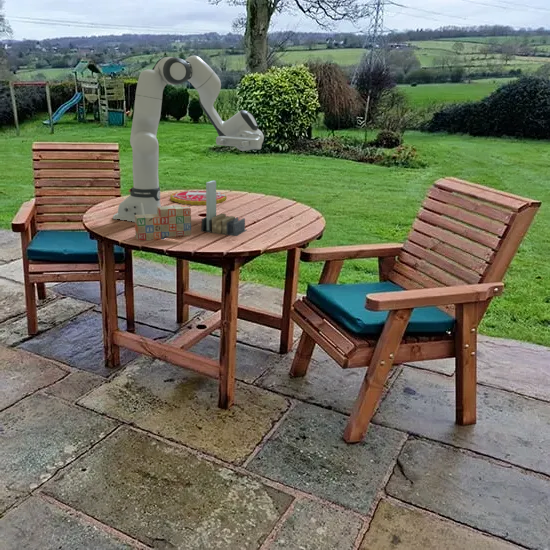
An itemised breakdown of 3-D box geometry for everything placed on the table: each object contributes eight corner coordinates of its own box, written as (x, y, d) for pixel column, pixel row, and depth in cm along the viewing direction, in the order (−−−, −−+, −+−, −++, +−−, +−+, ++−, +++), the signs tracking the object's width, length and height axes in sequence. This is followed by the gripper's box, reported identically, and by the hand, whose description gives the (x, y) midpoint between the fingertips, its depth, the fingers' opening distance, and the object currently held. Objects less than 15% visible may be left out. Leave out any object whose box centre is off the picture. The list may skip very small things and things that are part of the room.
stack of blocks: (138, 241, 207) (136, 210, 203) (135, 237, 212) (133, 207, 208) (191, 237, 215) (191, 207, 211) (187, 233, 220) (187, 204, 216)
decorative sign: (221, 189, 301) (231, 200, 274) (221, 193, 302) (231, 205, 275) (167, 190, 294) (172, 201, 267) (167, 194, 294) (173, 206, 267)
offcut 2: (216, 232, 218) (216, 221, 216) (226, 227, 227) (226, 216, 225) (220, 233, 217) (220, 221, 216) (231, 228, 226) (231, 216, 224)
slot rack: (199, 233, 220) (199, 219, 218) (212, 227, 230) (211, 213, 228) (236, 238, 215) (236, 224, 213) (247, 232, 225) (247, 218, 223)
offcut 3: (222, 233, 218) (222, 220, 216) (230, 228, 225) (230, 216, 223) (226, 233, 217) (226, 220, 216) (235, 229, 225) (235, 216, 223)
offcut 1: (211, 232, 219) (211, 217, 217) (221, 227, 227) (221, 213, 225) (216, 232, 219) (216, 218, 217) (225, 227, 226) (225, 213, 224)
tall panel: (206, 230, 222) (206, 182, 215) (213, 226, 227) (212, 180, 220) (209, 230, 221) (209, 182, 214) (216, 227, 226) (216, 180, 220)
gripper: (223, 132, 243) (209, 134, 231) (264, 134, 236) (252, 137, 224) (223, 146, 245) (209, 149, 233) (264, 149, 238) (252, 152, 226)
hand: (231, 143), depth 228 cm, fingers open, 8 cm apart
